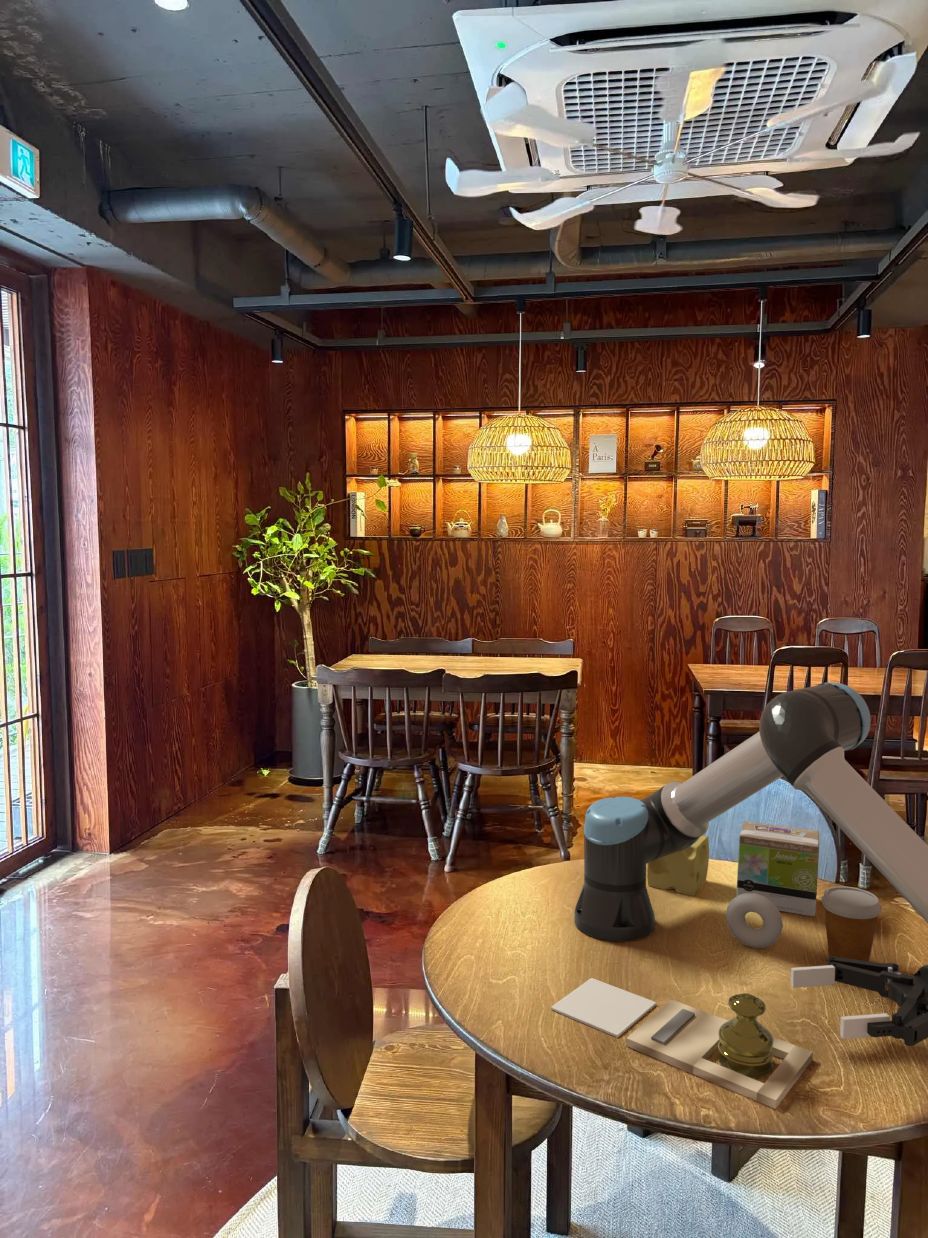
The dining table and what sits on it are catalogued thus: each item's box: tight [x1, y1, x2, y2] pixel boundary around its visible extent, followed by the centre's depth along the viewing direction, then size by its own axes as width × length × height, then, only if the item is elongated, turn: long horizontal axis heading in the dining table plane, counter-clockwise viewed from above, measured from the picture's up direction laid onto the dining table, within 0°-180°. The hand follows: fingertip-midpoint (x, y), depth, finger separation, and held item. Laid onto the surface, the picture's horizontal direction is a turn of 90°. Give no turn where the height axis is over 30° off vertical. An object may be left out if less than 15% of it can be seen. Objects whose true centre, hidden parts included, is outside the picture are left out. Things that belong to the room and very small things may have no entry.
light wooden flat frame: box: [625, 998, 814, 1110], centre depth 127 cm, size 22×14×2 cm, turn 50°
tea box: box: [736, 820, 820, 917], centre depth 178 cm, size 15×10×15 cm, turn 68°
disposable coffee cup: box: [821, 885, 882, 962], centre depth 153 cm, size 10×10×12 cm
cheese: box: [646, 834, 710, 897], centre depth 188 cm, size 10×11×10 cm
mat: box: [550, 977, 657, 1038], centre depth 139 cm, size 12×12×1 cm
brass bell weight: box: [717, 992, 774, 1079], centre depth 124 cm, size 7×7×10 cm
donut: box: [725, 893, 784, 949], centre depth 159 cm, size 10×4×10 cm, turn 59°
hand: (815, 1001), depth 124 cm, fingers open, 13 cm apart
